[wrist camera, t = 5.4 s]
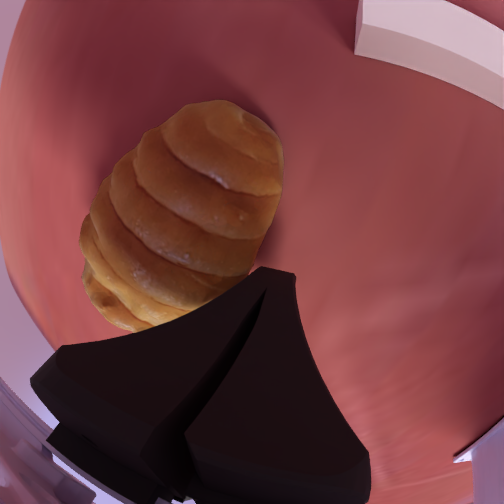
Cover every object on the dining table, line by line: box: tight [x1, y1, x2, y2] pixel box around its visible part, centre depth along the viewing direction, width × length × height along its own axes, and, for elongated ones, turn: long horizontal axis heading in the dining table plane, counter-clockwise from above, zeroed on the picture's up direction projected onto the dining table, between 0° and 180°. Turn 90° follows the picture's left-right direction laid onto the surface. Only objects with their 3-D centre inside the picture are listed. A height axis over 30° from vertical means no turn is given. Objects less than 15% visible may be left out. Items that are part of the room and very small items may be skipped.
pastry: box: [79, 100, 284, 333], centre depth 9 cm, size 9×7×4 cm
